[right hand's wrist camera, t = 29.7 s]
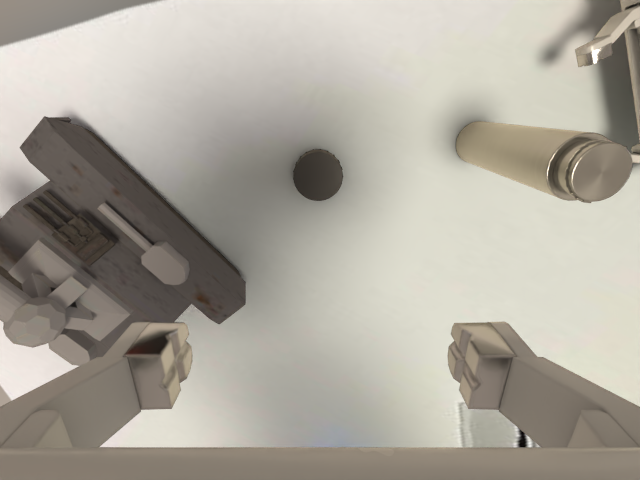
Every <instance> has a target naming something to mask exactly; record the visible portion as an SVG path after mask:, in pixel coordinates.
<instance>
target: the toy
mask: <svg viewBox="0 0 640 480" xmlns="http://www.w3.org/2000/svg"><path fill="white" fill-rule="evenodd" d="M70 121H71V119H69V118H68V117H66V118H48V117H44V118H43V119H42V120H41V121H40V123H39V124H38V125H37V126H36V128H35V129H34V130H33V131H32V133H31V134H30V135H29V136H28V138H27V139H26V140H25V141H24V143H23V144H22V145H21V146H20V149H21V150H22V152H23V153H24V154H25V156H26V157H27V159H28V160H29V162H30V163H31V164H33V165H34V166H35V167H36V168H37V169H38V170H39V171H40V172H42V173H43V174H44V175H45V176H46V177H47V178H48V179H50V180H51V181H49V182H48V183H46V184H45V185H43V186H42V187H40V188H39V189H37V190H36V191H34V192H33V193H31V194H30V195H28V196H27V197H26V198H24V199H23V200H21V201H20V202H18V203H17V204H15V205H14V206H12V207H11V208H10V210H9V211H8V212H7V213H6V214H5V215H4V216H3V218H2V219H1V220H0V320H1V321H2V322H4V327H3V329H4V332H5V335H6V336H7V337H8V338H9V339H10V340H11V342H12V343H14V344H19V345H24V346H28V347H36V346H40V345H43V344H46V343H49V349H51V350H52V351H54V352H55V353H56V354H58V355H59V356H61V357H62V358H63V359H65V360H66V361H68V362H69V363H70V364H72V365H78V366H81V365H83V364H85V363H87V362H89V361H91V360H93V359H94V358H96V357H103V356H104V355H105V354H106V353H107V351H108V350H109V349H110V348H111V347H112V346H113V344H114V343H115V342H116V341H117V340H118V339H119V338H120V336H121V335H122V334H123V333H124V332H125V331H126V330H127V328H128V327H129V326H130V325H131V324H132V323H135V322H174V321H175V320H176V319H177V318H178V317H179V316H180V315H181V314H182V313H183V312H184V311H185V310H186V309H187V308H188V307H189V305H190V304H191V303H192V304H193V305H194V306H195V307H197V308H198V309H199V310H200V311H201V312H202V313H204V314H205V315H206V316H207V317H208V318H209V319H211V320H213V321H214V322H216V323H218V324H221V323H222V322H223V321H224V320H226V319H227V318H228V317H230V316H231V315H232V314H234V313H235V312H236V311H237V310H239V309H240V308H241V307H243V306H244V305H245V281H244V280H243V279H242V278H241V276H240V274H239V272H238V270H237V269H236V268H235V267H234V266H233V265H232V264H231V263H230V262H229V261H228V260H227V259H226V258H224V257H223V256H222V255H221V254H220V253H219V252H218V251H217V250H216V249H215V248H214V247H213V246H212V245H211V244H210V243H209V242H208V241H207V240H206V239H204V238H203V237H202V236H201V235H200V234H199V233H198V232H197V231H196V230H195V229H194V228H193V227H192V226H191V225H190V224H189V223H188V222H187V221H186V220H184V219H183V218H182V217H181V216H180V215H179V214H178V213H177V212H176V211H175V210H174V209H173V208H172V207H171V206H170V205H169V204H168V203H167V202H166V201H164V200H163V199H162V198H161V197H160V196H159V195H158V194H157V193H156V192H155V191H154V190H153V189H152V188H151V187H150V186H149V185H148V184H147V183H146V182H144V181H143V180H142V179H141V178H140V177H139V176H138V175H137V174H136V173H135V172H134V171H133V170H132V169H131V168H130V167H129V166H128V165H127V164H126V163H124V162H123V161H122V160H121V159H120V158H119V157H118V156H117V155H116V154H115V153H114V152H113V151H112V150H111V149H110V148H109V147H108V146H107V145H106V144H104V143H103V142H102V141H101V140H100V139H99V138H98V137H97V136H96V135H95V134H94V133H92V132H91V131H89V130H87V129H84V128H83V127H82V126H78V125H74V124H71V123H69V122H70Z"/></svg>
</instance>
